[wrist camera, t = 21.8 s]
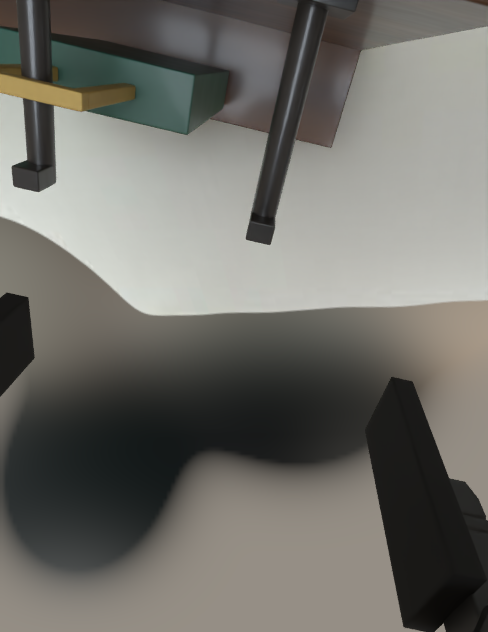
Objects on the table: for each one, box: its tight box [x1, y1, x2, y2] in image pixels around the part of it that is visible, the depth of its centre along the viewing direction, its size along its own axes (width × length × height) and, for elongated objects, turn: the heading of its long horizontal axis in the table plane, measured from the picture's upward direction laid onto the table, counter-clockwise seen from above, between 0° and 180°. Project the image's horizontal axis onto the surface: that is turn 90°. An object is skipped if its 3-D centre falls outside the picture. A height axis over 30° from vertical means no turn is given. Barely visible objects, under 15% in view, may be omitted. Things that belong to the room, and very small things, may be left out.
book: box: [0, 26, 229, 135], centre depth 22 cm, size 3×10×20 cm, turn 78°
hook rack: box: [0, 0, 488, 245], centre depth 22 cm, size 10×28×26 cm, turn 78°
